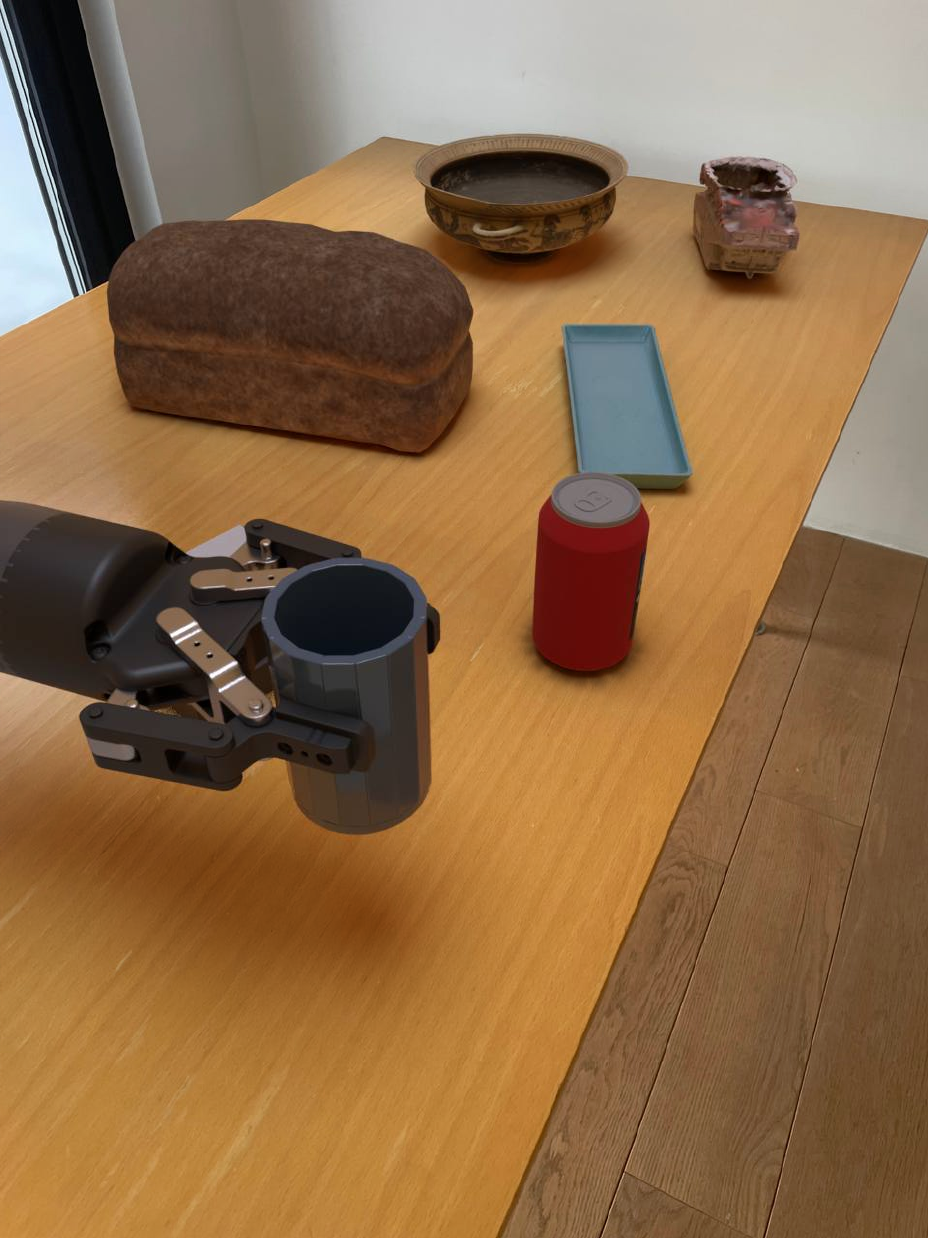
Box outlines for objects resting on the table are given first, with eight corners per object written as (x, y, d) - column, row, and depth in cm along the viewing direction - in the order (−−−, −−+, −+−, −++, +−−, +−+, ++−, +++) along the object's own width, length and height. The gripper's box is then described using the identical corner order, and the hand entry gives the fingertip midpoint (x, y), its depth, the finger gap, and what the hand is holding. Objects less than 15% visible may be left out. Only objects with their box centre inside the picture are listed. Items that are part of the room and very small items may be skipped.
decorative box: (799, 237, 123) (817, 152, 116) (816, 306, 108) (838, 214, 101) (689, 231, 124) (701, 147, 118) (691, 299, 109) (705, 207, 103)
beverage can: (652, 645, 68) (676, 497, 60) (585, 695, 64) (602, 544, 56) (577, 598, 71) (590, 453, 64) (510, 643, 68) (515, 494, 60)
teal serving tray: (690, 496, 81) (695, 469, 79) (576, 495, 81) (579, 469, 80) (651, 347, 101) (654, 323, 99) (559, 346, 101) (561, 323, 99)
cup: (354, 861, 42) (334, 690, 35) (262, 778, 45) (228, 608, 38) (460, 777, 45) (460, 607, 38) (367, 706, 48) (353, 538, 41)
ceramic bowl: (451, 200, 133) (450, 118, 126) (633, 215, 128) (642, 131, 122) (383, 293, 111) (377, 199, 104) (599, 315, 106) (608, 219, 100)
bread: (439, 466, 84) (435, 282, 74) (105, 410, 92) (59, 235, 81) (487, 385, 95) (490, 214, 84) (184, 340, 102) (152, 177, 92)
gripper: (-101, 637, 36) (319, 754, 32) (126, 439, 47) (467, 509, 43) (-34, 772, 41) (338, 889, 37) (158, 567, 52) (466, 641, 48)
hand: (405, 686), depth 40 cm, fingers closed on cup, 6 cm apart
